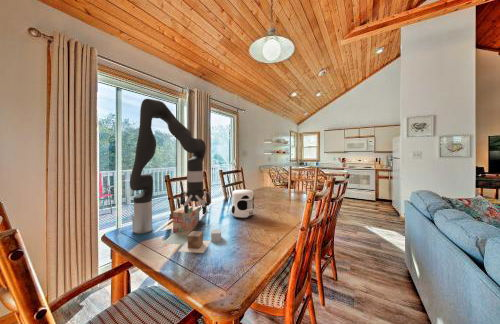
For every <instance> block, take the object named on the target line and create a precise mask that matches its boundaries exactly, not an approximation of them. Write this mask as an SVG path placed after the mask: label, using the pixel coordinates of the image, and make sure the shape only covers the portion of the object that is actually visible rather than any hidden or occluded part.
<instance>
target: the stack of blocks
mask: <svg viewBox="0 0 500 324" xmlns="http://www.w3.org/2000/svg"><path fill="white" fill-rule="evenodd" d="M199 221H200V207H199V206H190V205H189V212H188V213H187V214H185V212H184V205H182V206H181V207H180V208H178V209H176V210H173V211H172V232H178V233H179V232H180V233H184V232H186V230H188V229H191V227H193V226H194V225H196V223H199Z"/></svg>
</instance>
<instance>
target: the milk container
mask: <svg viewBox="0 0 500 324" xmlns="http://www.w3.org/2000/svg"><path fill="white" fill-rule="evenodd" d="M231 196H232V197H231V198H232V199H231V201H232V204H231V208H230V212H231V213H230V214H231V215H232V216H233V217H235V218H237V219H250V218H252V217H253V216H254V215H255V212H256V207H255V193H254V190H251V189H235V190H233V191H232V195H231Z"/></svg>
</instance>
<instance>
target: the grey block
mask: <svg viewBox="0 0 500 324" xmlns="http://www.w3.org/2000/svg"><path fill="white" fill-rule="evenodd" d="M210 236H211V237H210V241H211V242H210V243H215V242H222V228H220V229H219V228H218V229H211V230H210Z"/></svg>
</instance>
